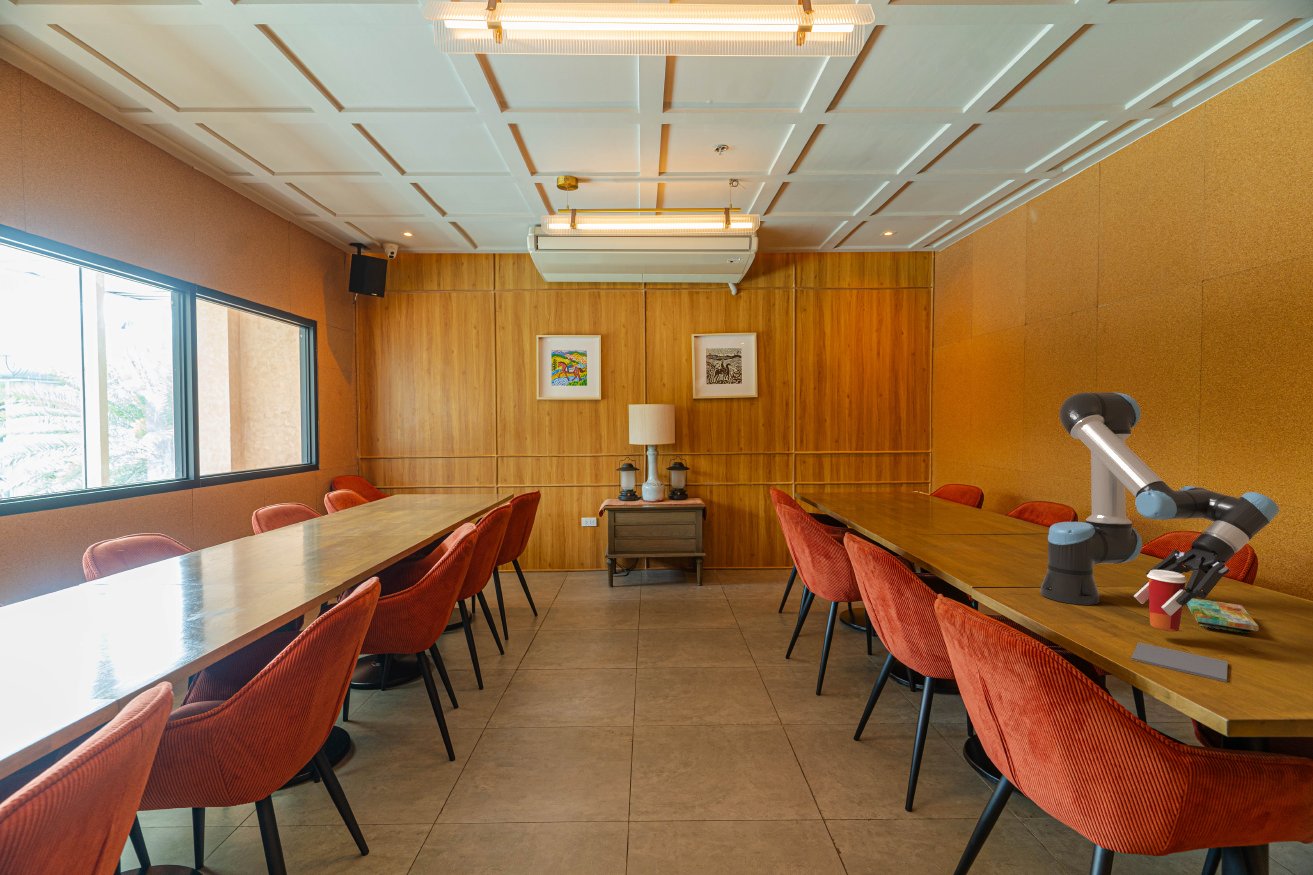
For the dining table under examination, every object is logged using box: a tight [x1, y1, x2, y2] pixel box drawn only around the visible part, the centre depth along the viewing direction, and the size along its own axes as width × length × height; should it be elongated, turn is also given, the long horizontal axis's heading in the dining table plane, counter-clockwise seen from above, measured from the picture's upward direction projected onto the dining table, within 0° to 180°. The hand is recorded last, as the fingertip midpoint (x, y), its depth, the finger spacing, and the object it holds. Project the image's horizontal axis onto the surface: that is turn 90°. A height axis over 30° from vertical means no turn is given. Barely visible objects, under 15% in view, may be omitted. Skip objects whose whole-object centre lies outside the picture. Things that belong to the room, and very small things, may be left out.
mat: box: [1130, 642, 1228, 683], centre depth 135 cm, size 16×13×1 cm
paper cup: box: [1146, 569, 1188, 632], centre depth 148 cm, size 8×8×14 cm
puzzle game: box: [1186, 598, 1260, 635], centre depth 161 cm, size 12×5×20 cm
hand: (1151, 605), depth 148 cm, fingers closed on paper cup, 8 cm apart
